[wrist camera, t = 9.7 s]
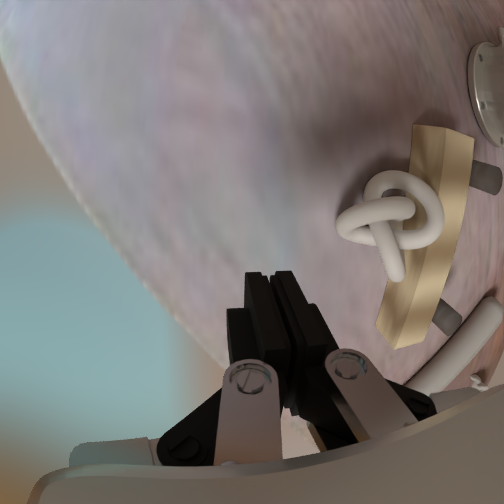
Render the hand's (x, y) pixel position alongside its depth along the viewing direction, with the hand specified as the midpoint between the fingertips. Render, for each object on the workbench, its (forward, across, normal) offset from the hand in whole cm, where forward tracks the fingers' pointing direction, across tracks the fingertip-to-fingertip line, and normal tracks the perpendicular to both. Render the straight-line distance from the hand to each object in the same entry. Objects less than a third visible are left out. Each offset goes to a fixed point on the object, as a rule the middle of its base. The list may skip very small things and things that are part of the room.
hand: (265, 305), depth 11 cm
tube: (+12, -30, +21) cm, 39 cm away
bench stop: (+11, -18, +2) cm, 21 cm away
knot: (+11, -11, 0) cm, 16 cm away
